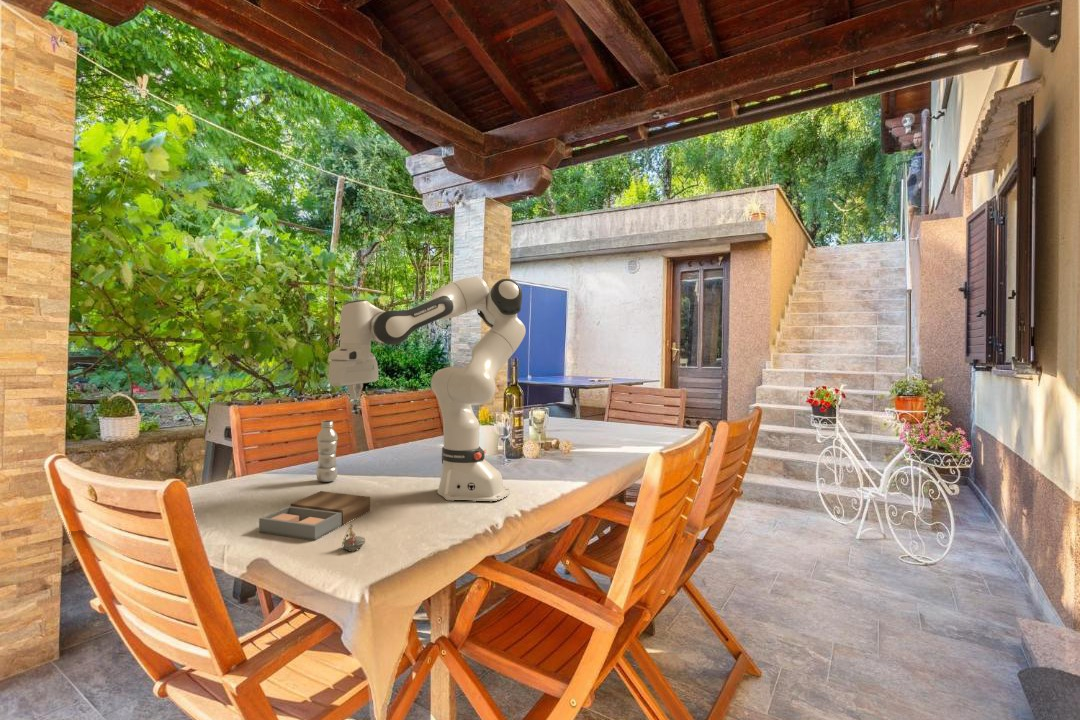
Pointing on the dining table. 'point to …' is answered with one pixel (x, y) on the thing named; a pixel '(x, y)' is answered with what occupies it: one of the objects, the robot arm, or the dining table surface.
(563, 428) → the dining table surface
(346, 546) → the figurine
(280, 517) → the tile
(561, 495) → the dining table surface
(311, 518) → the tile
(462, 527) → the dining table surface
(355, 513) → the brown wooden platform
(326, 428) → the plastic bottle
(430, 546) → the dining table surface
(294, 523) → the box
